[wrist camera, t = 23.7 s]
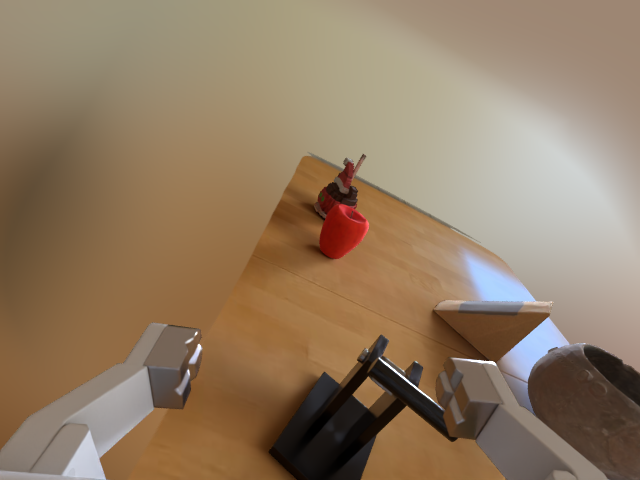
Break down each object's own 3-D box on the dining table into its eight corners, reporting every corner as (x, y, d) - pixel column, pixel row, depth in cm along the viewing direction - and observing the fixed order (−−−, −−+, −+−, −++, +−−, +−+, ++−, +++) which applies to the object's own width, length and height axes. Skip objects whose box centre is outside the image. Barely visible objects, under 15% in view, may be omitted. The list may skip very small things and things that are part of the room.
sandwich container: (444, 299, 79) (486, 252, 72) (501, 349, 72) (554, 301, 66) (431, 309, 72) (477, 258, 65) (493, 364, 66) (551, 314, 59)
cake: (350, 231, 85) (388, 171, 77) (319, 222, 81) (356, 157, 72) (338, 209, 93) (371, 152, 85) (309, 200, 89) (341, 139, 80)
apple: (347, 251, 76) (372, 212, 71) (347, 272, 68) (374, 230, 63) (313, 234, 74) (336, 193, 69) (308, 253, 67) (333, 209, 62)
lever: (448, 454, 19) (471, 417, 19) (362, 382, 20) (385, 349, 20) (402, 404, 32) (416, 383, 33) (353, 363, 33) (367, 343, 34)
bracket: (340, 521, 31) (429, 450, 25) (267, 452, 33) (333, 369, 27) (376, 425, 41) (445, 358, 35) (319, 377, 43) (375, 305, 37)
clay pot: (516, 443, 51) (599, 388, 44) (502, 359, 69) (558, 311, 62) (650, 541, 47) (761, 497, 40) (597, 426, 66) (668, 382, 59)
